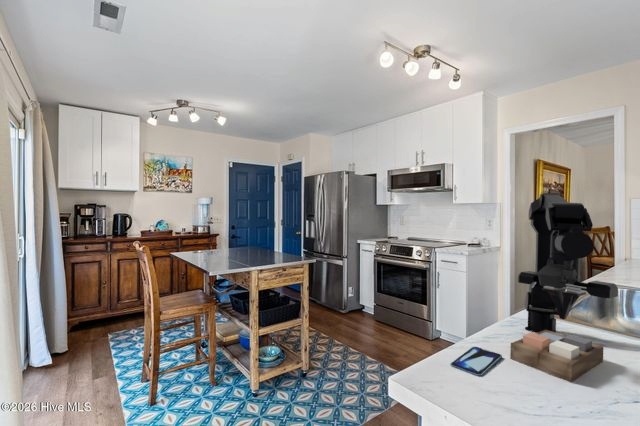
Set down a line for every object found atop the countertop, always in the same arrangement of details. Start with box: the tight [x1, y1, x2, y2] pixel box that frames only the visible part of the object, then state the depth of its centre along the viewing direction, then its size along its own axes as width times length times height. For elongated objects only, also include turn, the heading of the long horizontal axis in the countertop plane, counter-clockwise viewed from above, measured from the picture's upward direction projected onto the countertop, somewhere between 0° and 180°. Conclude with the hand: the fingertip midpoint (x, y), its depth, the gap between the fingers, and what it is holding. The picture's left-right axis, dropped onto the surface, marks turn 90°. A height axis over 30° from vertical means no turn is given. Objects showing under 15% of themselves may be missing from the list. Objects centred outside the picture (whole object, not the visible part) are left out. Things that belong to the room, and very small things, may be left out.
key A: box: [549, 340, 579, 360], centre depth 77 cm, size 4×4×3 cm
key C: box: [539, 332, 564, 342], centre depth 87 cm, size 4×4×3 cm
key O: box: [564, 334, 593, 352], centre depth 82 cm, size 4×4×3 cm
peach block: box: [522, 331, 550, 350], centre depth 82 cm, size 4×4×3 cm
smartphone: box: [450, 346, 503, 377], centre depth 81 cm, size 7×1×15 cm
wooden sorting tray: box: [509, 330, 605, 383], centre depth 82 cm, size 13×19×4 cm
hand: (562, 318), depth 78 cm, fingers closed
